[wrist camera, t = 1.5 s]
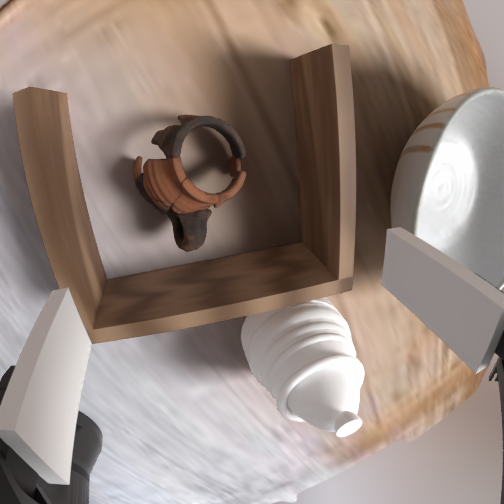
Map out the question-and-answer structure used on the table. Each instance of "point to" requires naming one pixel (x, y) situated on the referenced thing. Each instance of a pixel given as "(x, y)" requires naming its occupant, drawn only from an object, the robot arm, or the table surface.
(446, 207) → the decorative bowl
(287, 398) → the honey pot
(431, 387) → the table surface
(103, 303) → the walnut u-shaped frame
